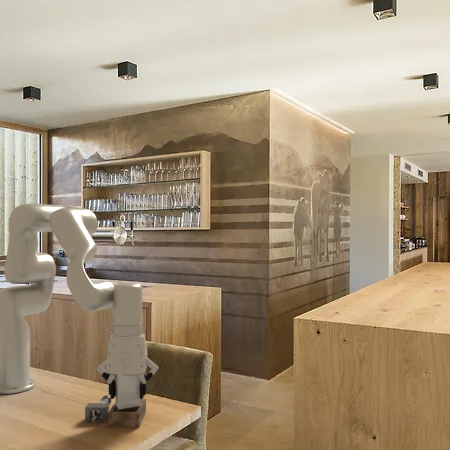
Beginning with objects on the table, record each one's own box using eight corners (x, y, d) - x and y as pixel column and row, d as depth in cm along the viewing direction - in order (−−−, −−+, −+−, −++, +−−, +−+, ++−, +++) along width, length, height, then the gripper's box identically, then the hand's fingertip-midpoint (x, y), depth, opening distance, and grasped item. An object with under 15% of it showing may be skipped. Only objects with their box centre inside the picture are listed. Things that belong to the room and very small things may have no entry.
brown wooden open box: (107, 427, 121) (107, 413, 121) (116, 411, 131) (117, 399, 131) (139, 427, 121) (139, 413, 121) (145, 412, 131) (146, 399, 131)
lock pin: (92, 417, 127) (92, 407, 127) (101, 405, 136) (101, 395, 136) (103, 417, 127) (103, 407, 127) (111, 405, 136) (111, 395, 136)
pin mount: (85, 422, 124) (85, 407, 124) (88, 417, 127) (88, 403, 127) (105, 422, 124) (105, 407, 124) (108, 417, 127) (108, 403, 127)
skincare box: (136, 401, 130) (137, 356, 130) (141, 407, 125) (141, 361, 125) (114, 404, 127) (114, 359, 127) (117, 410, 123) (118, 363, 123)
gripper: (91, 333, 122) (90, 402, 122) (158, 333, 122) (158, 402, 122) (98, 327, 130) (98, 392, 130) (162, 327, 130) (162, 392, 130)
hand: (127, 396), depth 126 cm, fingers closed on skincare box, 7 cm apart
